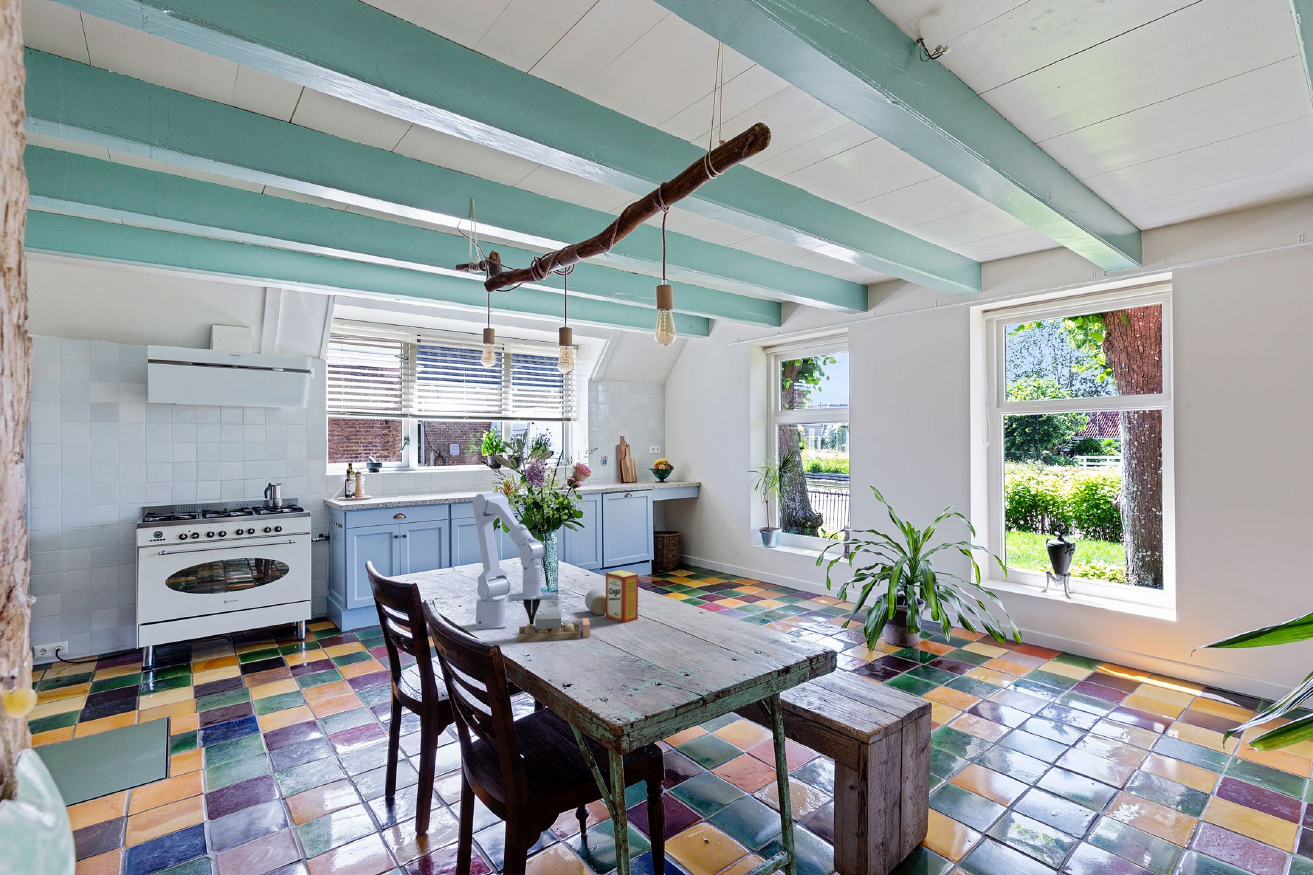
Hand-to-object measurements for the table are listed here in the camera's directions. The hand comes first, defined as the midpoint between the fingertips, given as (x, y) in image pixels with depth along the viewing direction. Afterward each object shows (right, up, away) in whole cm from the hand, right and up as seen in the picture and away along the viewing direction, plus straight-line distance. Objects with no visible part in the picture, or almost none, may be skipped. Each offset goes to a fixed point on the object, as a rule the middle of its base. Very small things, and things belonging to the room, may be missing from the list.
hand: (531, 623), depth 199 cm
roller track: (+5, -4, +1) cm, 7 cm away
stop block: (+17, -4, +3) cm, 18 cm away
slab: (+5, -1, +1) cm, 5 cm away
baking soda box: (+27, -5, +20) cm, 34 cm away
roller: (+12, -4, +2) cm, 13 cm away
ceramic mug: (+20, -5, +28) cm, 34 cm away
